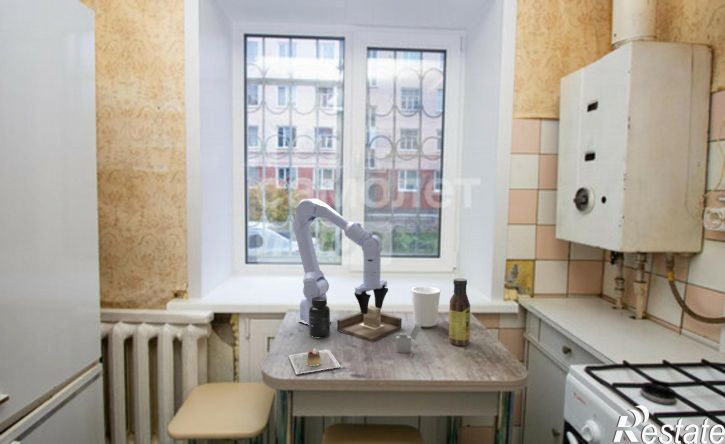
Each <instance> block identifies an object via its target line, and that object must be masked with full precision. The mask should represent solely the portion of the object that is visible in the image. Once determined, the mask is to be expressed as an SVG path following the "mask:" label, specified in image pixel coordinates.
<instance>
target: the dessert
mask: <svg viewBox="0 0 725 444" xmlns="http://www.w3.org/2000/svg"><path fill="white" fill-rule="evenodd" d="M320 352H327V353H328V354H329V356H330V357H331V358H332V360H333V362H334V363H335V365H336V367H335V366H333V367H328V368H321V369H316V370H308V371H302V372H300V373H298V371H297V369H296V367H295V365H294V363H293V361H292V358H291V356H294V355H301V354H302V355H303V354H308V356H306V360H305V364H306V363H307V364H308V365H317V364H320V363H321V362H322V363H323V361H322V357H321V354H320ZM288 358H289V361H290V363H291V365H292V369H293V370H294V372H295V375H303V374H302V373H304V374H310V373H315V371H316V372H321V370H323V371H327V369H329V370H334V368H335V369H338V368H341V367H342V366H341V364H340V362H339V361H338V360H337V359H336V357H335V356H334V354H333V353H332V351H331V350H330V349H329V348H328V349H321V350H317V349H316V348H315V347H314V348H313V349H312V348H311V349H310V350H309V351H307V352H306V351H305V352H299V353H293V354H288ZM308 365H307V366H308ZM309 372H310V373H309Z"/></svg>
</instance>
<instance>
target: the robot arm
mask: <svg viewBox="0 0 725 444" xmlns="http://www.w3.org/2000/svg"><path fill="white" fill-rule="evenodd" d="M294 210H295V214H294V218H293V223H292V226H293V231H294V235H295V238H296V243H297V246H298V251H299V255H300V259H301V263H302V267H303V273H304V277H303V279H302V282H303V289H302V290H303V291H302V293H303V296H304V297H303V298H301V301H300V303H299V320H300V319H301V320H304V321H305V322H307V323H308V324H309V308H310V307H311V306H313V305H312V298H314V297H325V298H327V299H328V297H327V294H326V293H328V290H329V288H330V285H329V281H328V279H326V277H325V275H324V274H325V273H323V272H322V270H321V269H320V266H319V265H320V264H319V262H318V257H317V253H316V249H315V245H314V241H313V236H312V233H311V229H310V226H311V224H313V222H314V221H315V219H317V218H323V219H326V220H328V221H329V222H330V223H332V224H334V225H335V226H337V227H339V228H340V229H342V230H343V232H344V236H345V237H347V238H348V239H349V240H350V241H352V242H353V243H355V244H356V245H358V246H359V247H361V250H362V252H363V272H362V273H363V276H362V277H363V281H362V284H361V285H359V286H357V287H354V289H355V290H354V296H355V298H356V301H357V303H358V305H359V310H360V312H361V313H363V314H367V312H368V306H369V302H370V298H371V296H372V294H368V292H370V291H373V294H374V305H375V306H374V307H377V308H381V309H382V308H383V304H384V301H385V298H386V295H387V293H388V292H389V288H388V280H383V279H382V280H381V249H382V247H383V241H382V239H381V238H380V237H379V235H377V234H373V232H372V231H368V230H367V229H365V228H364V227H363V226H362V225H363V224H361V223H360V222H356V221H353V222H349V221H348V220H347V218H345V217H343V216H342V215H341V214H339V213H338V212H337V211H336V210H334V209H333V208H332V207H331V206H329V205H328V204H327V203H325V202H323V201H321V200H320V199H319V198H309V199H308V198H304V199H301V200H300V201H299V202H298V204H297V205H296V206H295V208H294ZM330 322H331V323H333V321H332V320H330Z"/></svg>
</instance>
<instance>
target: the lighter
mask: <svg viewBox="0 0 725 444" xmlns="http://www.w3.org/2000/svg"><path fill="white" fill-rule="evenodd" d="M414 325H415V324H414ZM421 329H422V326H420V325H418V324H416V325H415V326H414V328H413V330H412V331H411V333H410V335H408V333H407V332H402V333H401V332H400V333H399V334H398V335H396V336H395V351H396V353H411V352H412V351H411V350H412V349H411V348H412V347H411V346H412V340H414V341H415V340H416V339H417V337H418V335H419V333H420V331H421Z"/></svg>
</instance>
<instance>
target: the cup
mask: <svg viewBox="0 0 725 444" xmlns="http://www.w3.org/2000/svg"><path fill="white" fill-rule="evenodd" d="M411 297H412V298H411V301H412V302H411V303H412V310H413V311H412V312H413V322H414V325H416V324H418V325H420V326H421V328H423V329H424V330H427V329H429V328H432V329H433V328H436V326H437V322H438V314H439V304H440V297H441V290H440V289H439V288H437V287H434V286H426V285H424V286H414V287H412V289H411Z"/></svg>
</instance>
